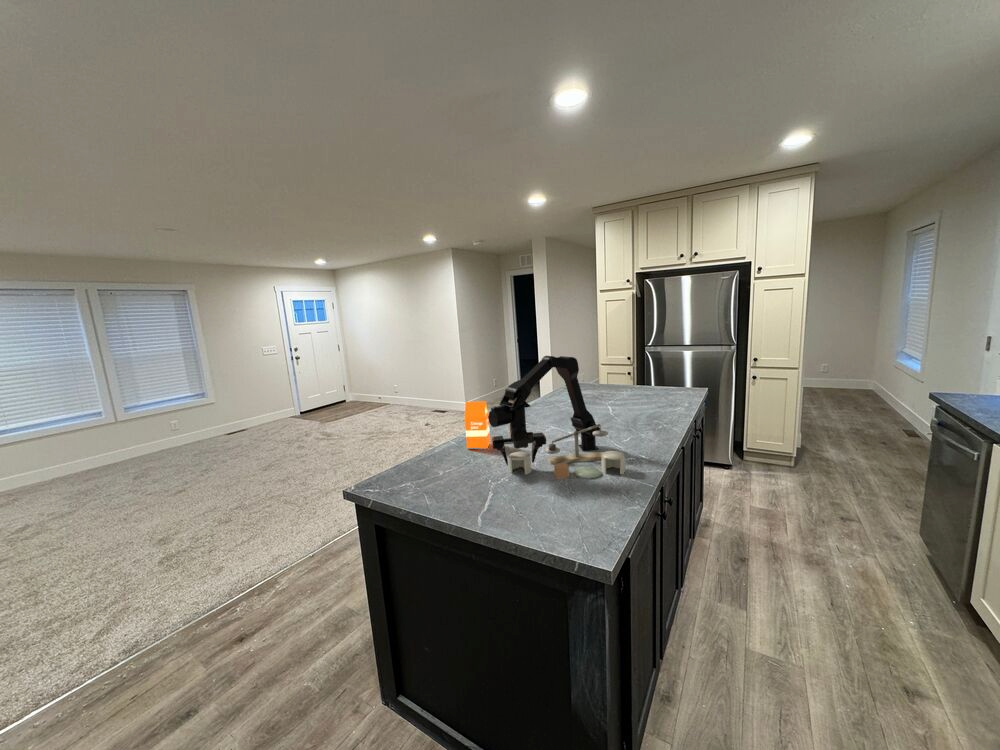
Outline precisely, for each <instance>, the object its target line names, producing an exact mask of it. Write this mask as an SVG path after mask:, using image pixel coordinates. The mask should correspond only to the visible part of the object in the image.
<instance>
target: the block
mask: <svg viewBox="0 0 1000 750" xmlns="http://www.w3.org/2000/svg"><path fill="white" fill-rule="evenodd" d="M553 466H554V467H553V468H554V473H553V474H554V476H555V478H556V477H557V478H556V479H557V480H560V479H559V478H564V479H569V478H570V473H569V472H570V469H569V468H570V467H569V465H568V463H555V464H553Z"/></svg>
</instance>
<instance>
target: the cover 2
mask: <svg viewBox="0 0 1000 750" xmlns="http://www.w3.org/2000/svg"><path fill="white" fill-rule="evenodd" d="M610 467H616V468H615V469H618V468H620V469H619V475H620V474H622V475H624V474H625V473H626V456H625V454H624V453H623V452H620V451H617V450H607V451H604V452H603V453H602V455H601V472H602V473H603V472H604V473H605V475H607V469H611V468H610ZM624 472H625V473H624Z"/></svg>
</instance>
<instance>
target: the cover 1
mask: <svg viewBox="0 0 1000 750" xmlns="http://www.w3.org/2000/svg"><path fill="white" fill-rule="evenodd" d="M508 458H509V461H508V462H509V471H510V474H511V473H512V474H513V469H514V470H515V469H520V468H519V467H524V468H523V469H524V475H525V474H527V475H528V474H531V472H532V464H531V463H532V458H531V454H530V453H529V452H526V451H515V452H511V453H510V454H509V456H508Z"/></svg>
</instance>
